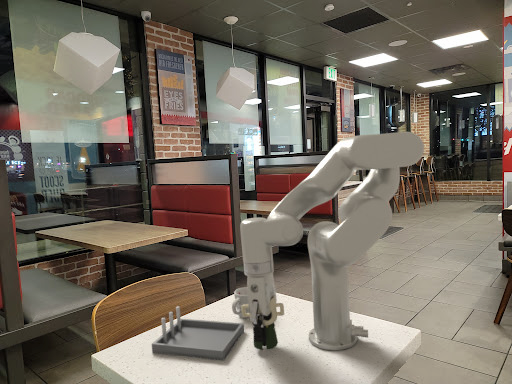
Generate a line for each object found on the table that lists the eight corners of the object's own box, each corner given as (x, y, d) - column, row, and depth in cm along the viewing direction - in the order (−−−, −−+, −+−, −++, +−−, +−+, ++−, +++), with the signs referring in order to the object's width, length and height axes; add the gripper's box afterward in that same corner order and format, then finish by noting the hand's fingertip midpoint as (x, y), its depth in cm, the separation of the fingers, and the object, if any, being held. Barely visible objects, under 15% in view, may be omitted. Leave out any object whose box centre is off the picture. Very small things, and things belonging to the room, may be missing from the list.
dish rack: (244, 331, 106) (242, 305, 106) (223, 361, 91) (221, 330, 91) (181, 326, 112) (179, 301, 112) (152, 353, 97) (150, 324, 97)
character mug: (243, 353, 93) (238, 303, 92) (247, 339, 100) (242, 293, 99) (286, 352, 91) (282, 301, 90) (287, 338, 98) (283, 291, 97)
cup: (244, 326, 110) (242, 300, 110) (224, 320, 115) (222, 295, 114) (265, 313, 119) (264, 289, 118) (246, 308, 124) (244, 285, 123)
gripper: (263, 278, 85) (270, 352, 86) (280, 257, 101) (286, 320, 103) (232, 277, 87) (240, 350, 88) (254, 257, 103) (260, 319, 105)
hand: (264, 333), depth 95 cm, fingers closed on character mug, 7 cm apart
